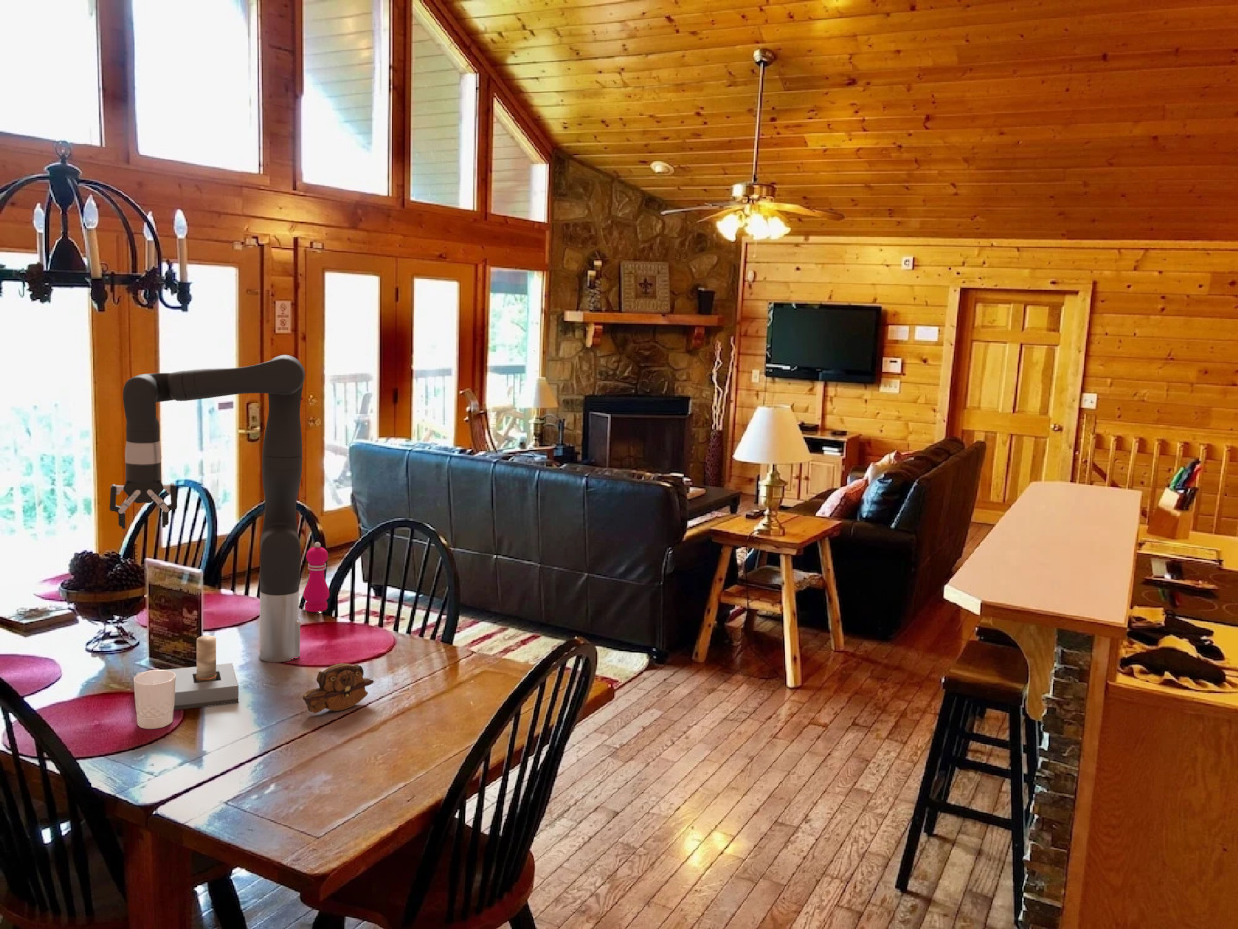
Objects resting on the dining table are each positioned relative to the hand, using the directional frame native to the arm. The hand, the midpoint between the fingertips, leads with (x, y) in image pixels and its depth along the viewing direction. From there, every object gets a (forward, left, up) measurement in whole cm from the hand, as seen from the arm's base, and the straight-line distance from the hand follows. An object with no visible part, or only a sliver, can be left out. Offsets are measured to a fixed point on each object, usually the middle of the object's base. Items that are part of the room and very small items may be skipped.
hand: (144, 527), depth 227 cm
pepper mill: (-45, -29, -33) cm, 63 cm away
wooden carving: (-38, +42, -33) cm, 66 cm away
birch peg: (-12, +25, -32) cm, 42 cm away
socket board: (-8, +25, -33) cm, 42 cm away
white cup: (-1, +37, -33) cm, 50 cm away
